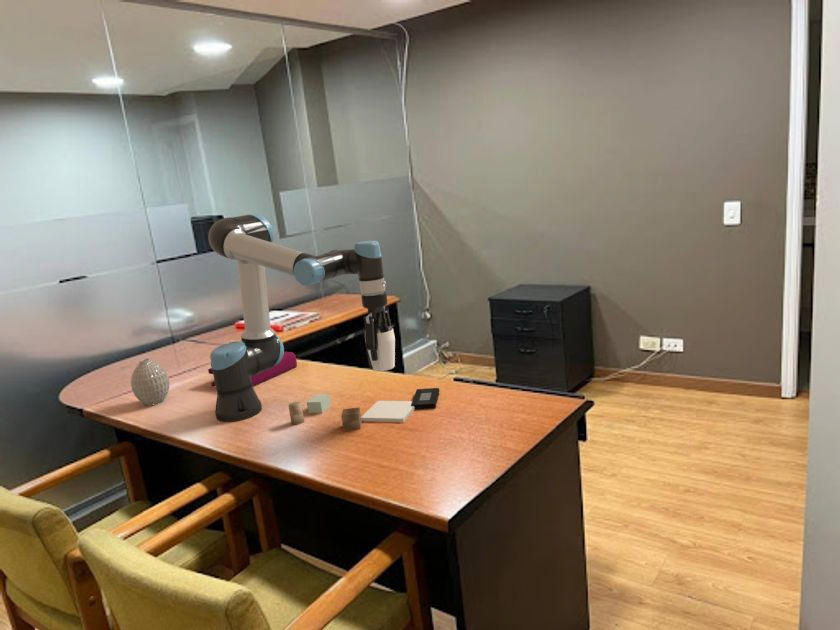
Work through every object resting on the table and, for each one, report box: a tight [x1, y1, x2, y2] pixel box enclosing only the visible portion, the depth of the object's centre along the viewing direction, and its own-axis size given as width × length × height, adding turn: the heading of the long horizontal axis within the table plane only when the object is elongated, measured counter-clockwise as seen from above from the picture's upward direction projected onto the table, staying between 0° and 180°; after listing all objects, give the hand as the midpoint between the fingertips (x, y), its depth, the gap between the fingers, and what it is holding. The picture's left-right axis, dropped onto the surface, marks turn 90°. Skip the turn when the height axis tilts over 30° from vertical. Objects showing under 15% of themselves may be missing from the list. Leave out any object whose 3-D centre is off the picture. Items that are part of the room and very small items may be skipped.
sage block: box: [306, 393, 332, 414], centre depth 204 cm, size 5×7×4 cm
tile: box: [361, 400, 416, 423], centre depth 194 cm, size 14×14×1 cm
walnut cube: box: [341, 407, 363, 432], centre depth 186 cm, size 5×5×5 cm
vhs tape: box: [411, 387, 440, 411], centre depth 201 cm, size 8×14×2 cm, turn 173°
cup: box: [364, 326, 396, 372], centre depth 189 cm, size 9×9×12 cm
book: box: [207, 351, 298, 387], centre depth 249 cm, size 21×28×8 cm
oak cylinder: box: [287, 401, 305, 426], centre depth 195 cm, size 4×4×6 cm
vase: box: [130, 357, 170, 406], centre depth 229 cm, size 13×13×17 cm
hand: (383, 365), depth 190 cm, fingers closed on cup, 9 cm apart
